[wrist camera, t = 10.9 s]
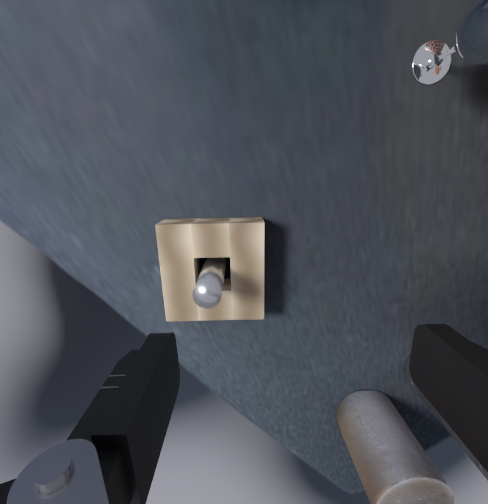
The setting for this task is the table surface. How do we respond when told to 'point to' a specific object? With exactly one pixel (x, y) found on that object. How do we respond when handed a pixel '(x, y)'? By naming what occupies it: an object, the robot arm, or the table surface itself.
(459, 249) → the table surface
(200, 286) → the steel pin
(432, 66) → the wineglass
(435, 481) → the pillar candle
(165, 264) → the oak hole block
